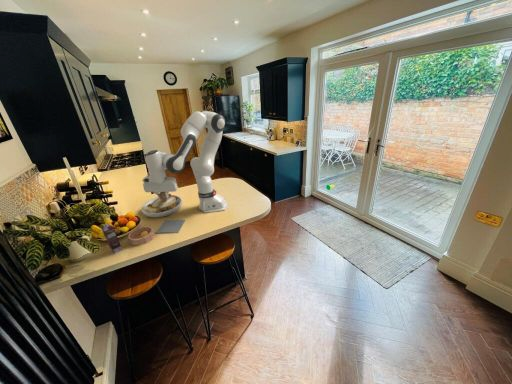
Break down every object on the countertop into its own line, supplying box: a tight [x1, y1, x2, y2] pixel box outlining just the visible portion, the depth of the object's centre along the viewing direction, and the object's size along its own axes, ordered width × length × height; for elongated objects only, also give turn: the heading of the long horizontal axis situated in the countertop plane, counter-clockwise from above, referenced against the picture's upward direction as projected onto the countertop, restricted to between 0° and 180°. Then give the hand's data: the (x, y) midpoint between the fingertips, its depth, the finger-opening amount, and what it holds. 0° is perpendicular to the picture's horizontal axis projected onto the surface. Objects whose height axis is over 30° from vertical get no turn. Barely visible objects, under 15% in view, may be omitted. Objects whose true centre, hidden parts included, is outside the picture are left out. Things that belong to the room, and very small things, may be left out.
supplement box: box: [100, 222, 123, 255], centre depth 124 cm, size 9×5×16 cm, turn 48°
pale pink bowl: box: [153, 192, 176, 208], centre depth 137 cm, size 14×14×7 cm
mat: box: [155, 219, 186, 234], centre depth 146 cm, size 15×15×1 cm
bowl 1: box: [127, 225, 155, 246], centre depth 135 cm, size 14×14×4 cm
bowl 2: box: [140, 193, 183, 218], centre depth 168 cm, size 30×30×8 cm
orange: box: [140, 231, 150, 238], centre depth 136 cm, size 4×4×4 cm
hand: (163, 197), depth 137 cm, fingers closed on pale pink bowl, 3 cm apart
